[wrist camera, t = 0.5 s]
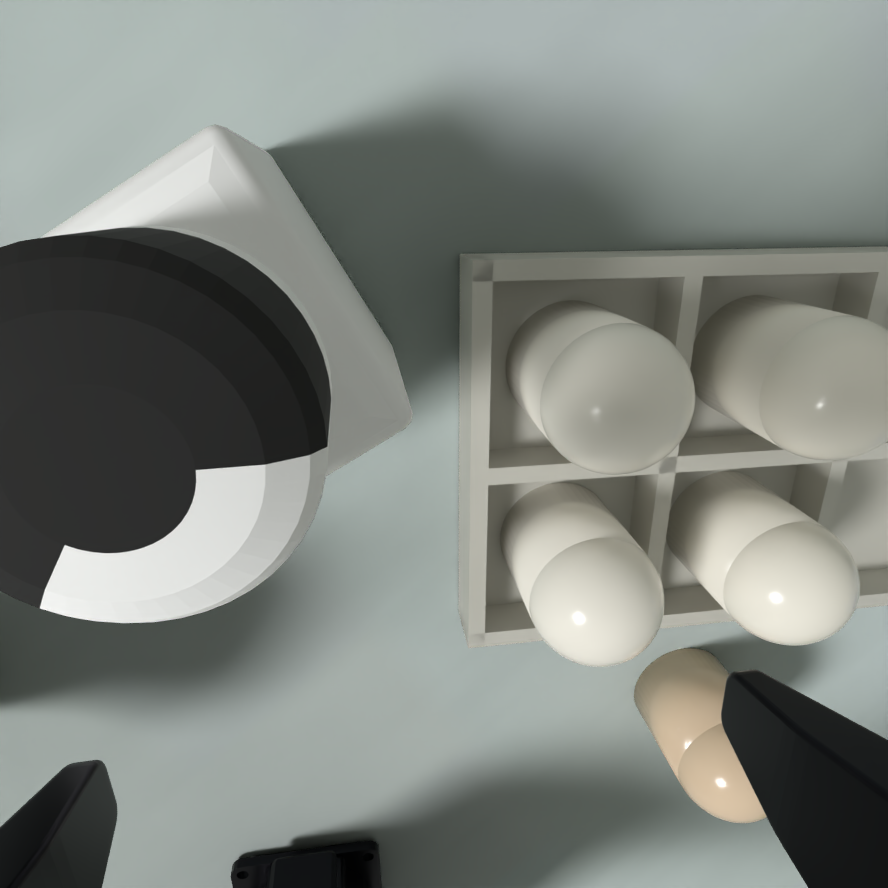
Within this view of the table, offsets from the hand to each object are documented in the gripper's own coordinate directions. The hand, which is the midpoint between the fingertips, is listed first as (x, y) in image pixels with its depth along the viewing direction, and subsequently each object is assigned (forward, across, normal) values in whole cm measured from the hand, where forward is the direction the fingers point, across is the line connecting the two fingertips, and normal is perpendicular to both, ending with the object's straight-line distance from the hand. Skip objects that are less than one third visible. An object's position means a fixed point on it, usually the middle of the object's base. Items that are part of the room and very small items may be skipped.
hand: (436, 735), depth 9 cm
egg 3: (+13, -13, -2) cm, 18 cm away
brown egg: (+14, -12, +13) cm, 23 cm away
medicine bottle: (+14, +4, -4) cm, 15 cm away
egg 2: (+13, -6, +4) cm, 15 cm away
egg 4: (+13, -13, +5) cm, 19 cm away
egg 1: (+13, -6, -2) cm, 14 cm away
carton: (+14, -13, +1) cm, 19 cm away
